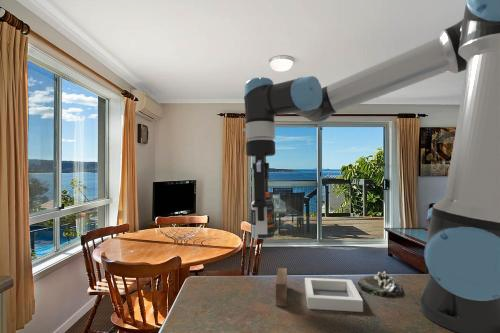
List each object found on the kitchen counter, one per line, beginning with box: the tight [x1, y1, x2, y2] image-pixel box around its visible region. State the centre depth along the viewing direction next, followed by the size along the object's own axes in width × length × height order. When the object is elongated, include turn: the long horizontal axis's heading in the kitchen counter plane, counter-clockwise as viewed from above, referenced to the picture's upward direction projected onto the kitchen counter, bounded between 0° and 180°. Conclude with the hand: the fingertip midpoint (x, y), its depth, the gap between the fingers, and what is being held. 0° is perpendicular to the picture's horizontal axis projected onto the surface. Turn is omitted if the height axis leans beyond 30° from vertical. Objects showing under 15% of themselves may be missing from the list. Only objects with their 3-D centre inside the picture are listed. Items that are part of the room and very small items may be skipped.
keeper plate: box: [304, 277, 364, 313], centre depth 68 cm, size 12×12×2 cm
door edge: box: [275, 267, 288, 307], centre depth 70 cm, size 2×11×5 cm, turn 172°
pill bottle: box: [250, 191, 275, 240], centre depth 71 cm, size 6×6×11 cm
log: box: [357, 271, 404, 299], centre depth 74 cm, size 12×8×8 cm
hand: (262, 231), depth 71 cm, fingers closed on pill bottle, 6 cm apart
